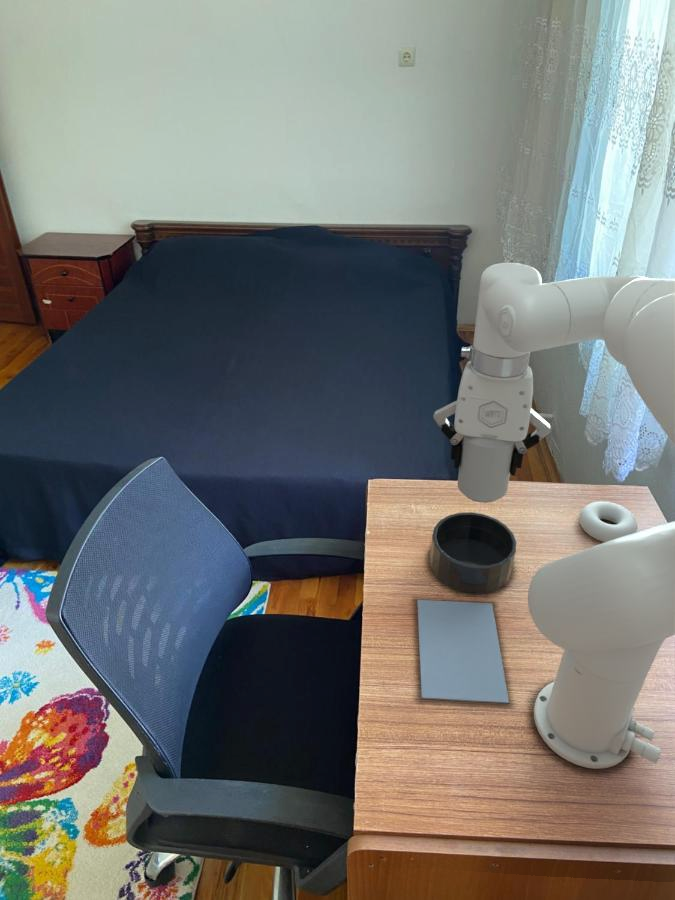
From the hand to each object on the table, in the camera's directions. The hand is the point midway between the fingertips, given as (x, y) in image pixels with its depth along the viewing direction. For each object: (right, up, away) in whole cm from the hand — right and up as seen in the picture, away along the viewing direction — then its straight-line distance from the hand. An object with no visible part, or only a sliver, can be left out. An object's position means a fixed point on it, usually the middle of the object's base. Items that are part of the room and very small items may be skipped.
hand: (485, 466), depth 96 cm
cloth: (-4, -27, +1) cm, 28 cm away
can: (0, -4, +3) cm, 5 cm away
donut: (+28, -12, +23) cm, 38 cm away
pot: (+1, -17, +15) cm, 23 cm away
